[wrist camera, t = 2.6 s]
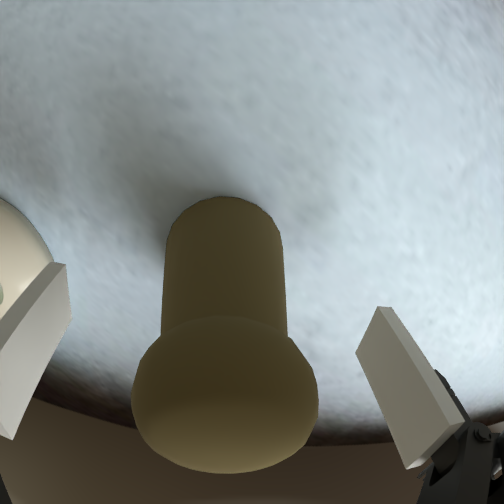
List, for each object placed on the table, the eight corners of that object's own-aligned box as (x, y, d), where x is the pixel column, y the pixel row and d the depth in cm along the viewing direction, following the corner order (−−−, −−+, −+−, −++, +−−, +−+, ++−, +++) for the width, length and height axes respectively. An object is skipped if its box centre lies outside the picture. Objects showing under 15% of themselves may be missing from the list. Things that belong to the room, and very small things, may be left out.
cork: (305, 258, 17) (381, 442, 7) (219, 318, 18) (220, 502, 8) (231, 170, 15) (240, 330, 5) (142, 247, 16) (64, 433, 6)
